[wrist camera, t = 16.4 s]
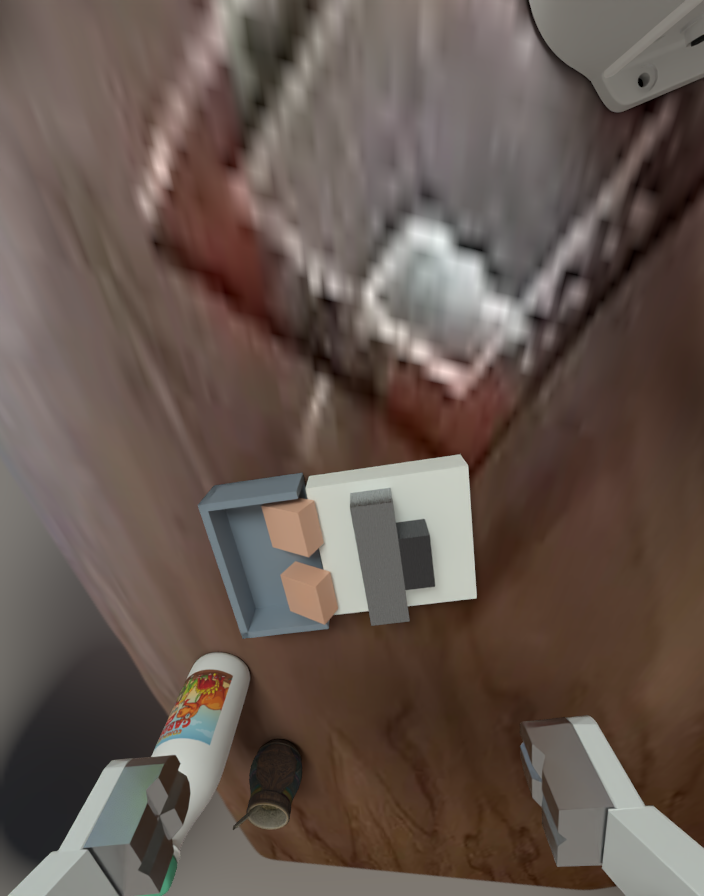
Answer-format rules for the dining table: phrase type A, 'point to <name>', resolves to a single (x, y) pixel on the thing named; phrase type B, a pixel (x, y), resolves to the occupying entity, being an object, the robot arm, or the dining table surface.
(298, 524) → the tile front
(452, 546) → the board
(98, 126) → the dining table surface
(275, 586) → the tray
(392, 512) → the two-tone stepped block
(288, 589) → the tile back
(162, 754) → the milk bottle
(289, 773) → the mate gourd
